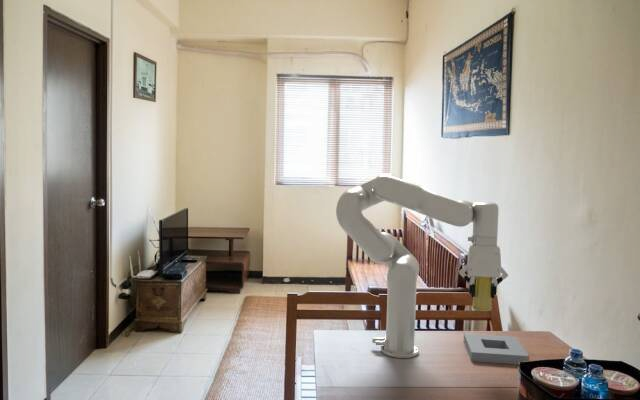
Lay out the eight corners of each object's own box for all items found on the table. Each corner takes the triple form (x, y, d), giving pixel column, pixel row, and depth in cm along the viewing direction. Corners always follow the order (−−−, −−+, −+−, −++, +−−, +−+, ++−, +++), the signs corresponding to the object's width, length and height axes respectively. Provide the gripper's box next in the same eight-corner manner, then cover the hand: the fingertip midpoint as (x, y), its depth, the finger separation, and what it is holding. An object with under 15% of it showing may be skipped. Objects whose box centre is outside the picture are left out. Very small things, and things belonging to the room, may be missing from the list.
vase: (492, 312, 174) (494, 267, 172) (472, 310, 175) (474, 266, 174) (491, 306, 179) (493, 263, 178) (471, 305, 181) (473, 262, 180)
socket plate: (471, 361, 179) (471, 352, 179) (463, 341, 197) (464, 333, 197) (528, 365, 177) (529, 356, 177) (515, 344, 195) (516, 336, 195)
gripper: (457, 242, 173) (455, 298, 175) (515, 244, 170) (512, 301, 172) (456, 238, 180) (454, 292, 182) (510, 240, 177) (508, 295, 179)
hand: (482, 296), depth 177 cm, fingers closed on vase, 5 cm apart
